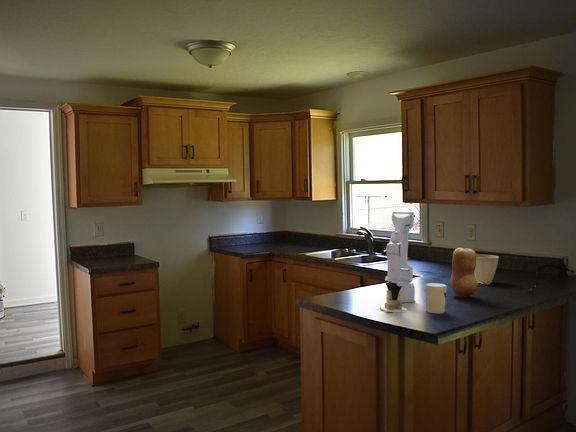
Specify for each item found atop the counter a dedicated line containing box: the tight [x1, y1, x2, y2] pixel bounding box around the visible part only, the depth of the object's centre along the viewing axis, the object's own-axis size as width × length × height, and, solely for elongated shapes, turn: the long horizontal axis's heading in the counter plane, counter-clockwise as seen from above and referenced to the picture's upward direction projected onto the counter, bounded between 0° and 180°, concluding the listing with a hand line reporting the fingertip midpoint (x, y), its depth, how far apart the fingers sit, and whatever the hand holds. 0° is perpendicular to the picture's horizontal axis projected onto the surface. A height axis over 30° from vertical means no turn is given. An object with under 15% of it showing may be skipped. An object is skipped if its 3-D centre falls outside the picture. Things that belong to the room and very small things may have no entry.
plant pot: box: [474, 254, 500, 285], centre depth 305 cm, size 15×15×16 cm
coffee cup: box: [424, 282, 448, 314], centre depth 236 cm, size 9×9×12 cm
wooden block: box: [385, 289, 402, 309], centre depth 237 cm, size 6×2×8 cm, turn 102°
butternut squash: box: [449, 247, 478, 299], centre depth 266 cm, size 14×13×25 cm
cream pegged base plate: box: [379, 302, 408, 314], centre depth 237 cm, size 10×7×3 cm
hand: (393, 299), depth 237 cm, fingers closed on wooden block, 2 cm apart
